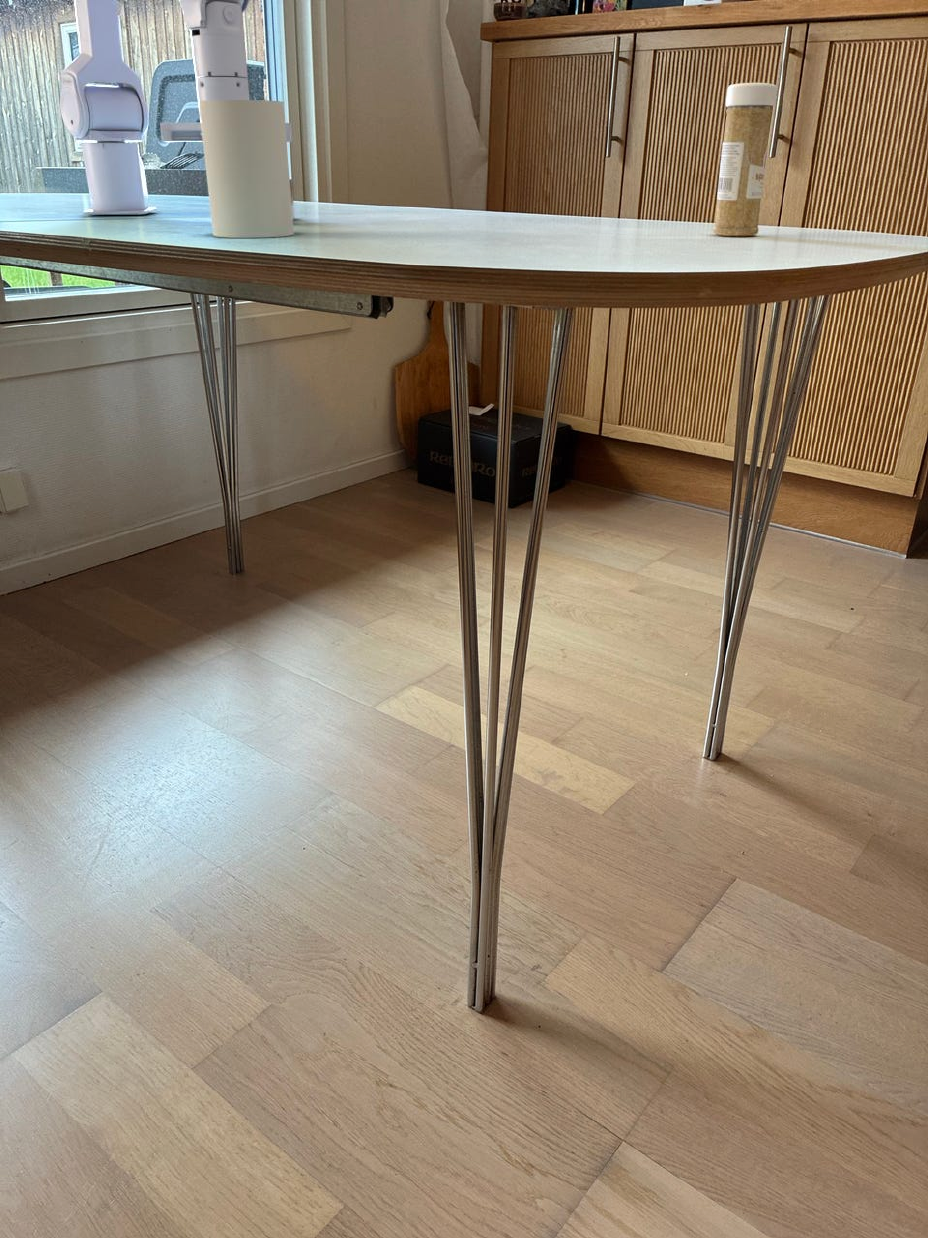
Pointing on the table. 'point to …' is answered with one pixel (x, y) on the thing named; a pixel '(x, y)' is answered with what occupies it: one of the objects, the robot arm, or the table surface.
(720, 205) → the spice jar
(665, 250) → the table surface
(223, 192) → the cup
